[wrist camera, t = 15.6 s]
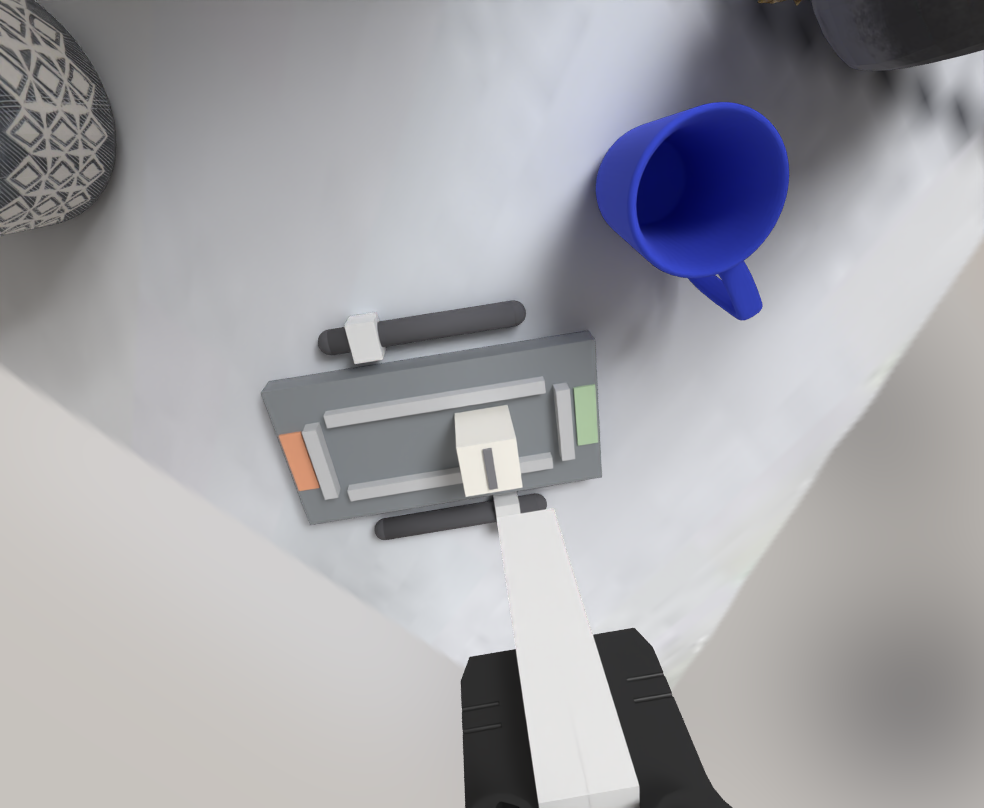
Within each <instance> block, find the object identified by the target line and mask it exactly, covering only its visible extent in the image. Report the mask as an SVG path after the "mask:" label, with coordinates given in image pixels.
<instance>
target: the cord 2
mask: <svg viewBox="0 0 984 808" xmlns="http://www.w3.org/2000/svg"><path fill="white" fill-rule="evenodd" d="M493 496H494V500H493V501H487V502H481V503H475V504H469V505H463V506H457V507H451V508H445V509H439V510H432V511H426V512H420V513H414V514H408V515H402V516H396V517H390V518H384V519H381V520H380V521H378V522H377V524H376V526H375V533H376V535H377V537H378V538H380V539H382V540H389V539H395V538H401V537H407V536H413V535H419V534H425V533H432V532H438V531H444V530H450V529H456V528H462V527H468V526H474V525H480V524H486V523H492V522H497V519H496V518H497V517H503V516H509V515H515V514H521V513H527V512H533V511H539V510H545V509H546V507H547V502H546V499H545V498H544V497H543V496H542V495H540V494H530V495H524V496H517V491H515V492H509V493H503V494H497V495H493Z"/></svg>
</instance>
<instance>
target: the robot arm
mask: <svg viewBox="0 0 984 808" xmlns="http://www.w3.org/2000/svg"><path fill="white" fill-rule="evenodd" d="M496 519H497V525H498V532H499V539H500V546H501V552H502V559H503V566H504V573H505V580H506V586H507V593H508V600H509V607H510V613H511V620H512V627H513V634H514V641H515V647H516V649H514V650H508V651H502V652H496V653H490V654H484V655H479V656H473V657H469V660H468V663H467V666H466V668H465V671H464V674H463V677H462V679H461V701H462V728H463V755H464V782H465V808H732V807H731V806H730V805H729V804H727V803H726V802H725V801H724V800H723V799H722V798H721V796H720V795H719V794H718V793H717V792H716V790H715V789H714V788H713V786H712V784H711V782H710V781H709V779H708V777H707V775H706V773H705V771H704V768H703V766H702V764H701V761H700V759H699V756H698V754H697V751H696V749H695V747H694V745H693V742H692V740H691V737H690V735H689V732H688V730H687V728H686V725H685V723H684V720H683V718H682V716H681V713H680V711H679V709H678V706H677V704H676V701H675V699H674V697H673V696H672V692H671V689H670V687H669V685H668V682H667V680H666V677H664V674H663V670H662V668H661V666H660V663H659V661H658V658H657V656H656V654H655V651H654V649H653V647H652V646H651V645H650V644H649V643H648V642H647V641H646V639H645V638H644V637H643V636H642V635H641V634H640V633H639V632H638V631H637V630H636V629H635V628H630V629H624V630H618V631H612V632H606V633H601V634H595V635H593V634H592V631H591V627H590V624H589V621H588V618H587V614H586V611H585V608H584V605H583V601H582V598H581V595H580V592H579V588H578V585H577V582H576V579H575V575H574V572H573V569H572V566H571V562H570V559H569V556H568V553H567V549H566V546H565V543H564V540H563V536H562V533H561V530H560V527H559V523H558V520H557V517H556V514H555V510H554V508H551V509H545V510H539V511H533V512H527V513H521V514H515V515H509V516H503V517H497V518H496Z"/></svg>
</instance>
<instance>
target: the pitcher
mask: <svg viewBox="0 0 984 808" xmlns="http://www.w3.org/2000/svg"><path fill="white" fill-rule="evenodd" d="M781 1H786V0H758V3H772V4H773V3H777V2H781ZM793 1H794V2H795V4H796V5H797V6H798V4H799V3H800V2H801V1H802V0H793ZM811 2H812V7H813V11H814V13H815V16H816V18H817V20H818V23H819V25H820V28H821V30H822V32H823V35H824V37H825V38H826V39H827V41H828V42H829V44H830V45H831V47H832V48H833V49H834V51H835V52H836V54H837V55H838V56H839V57H840V58H841V59H842V60H843V61H844V62H845V63H846V64H847V65H848V66H849V67H851V68H854V69H857V70H869V71H882V70H893V69H902V68H908V67H913V66H919V65H924V64H929V63H933V62H938V61H942V60H946V59H950V58H955V57H959V56H963V55H966V54H970V53H974V52H977V51H981V50H984V0H811Z"/></svg>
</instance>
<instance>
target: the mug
mask: <svg viewBox="0 0 984 808" xmlns="http://www.w3.org/2000/svg"><path fill="white" fill-rule="evenodd" d="M788 184H789V163H788V157H787V152H786V149H785V146H784V143H783V141H782V138H781V137H780V135H779V133H778V131H777V130H776V128H775V127H774V126H773V125H772V124H771V122H770V121H769V120H768V119H767V118H765V117H764V116H763V115H762V114H760V113H759V112H757V111H756V110H754V109H752V108H750V107H747V106H744V105H741V104H737V103H730V102H716V103H709V104H704V105H701V106H697V107H694V108H691V109H688V110H685V111H682V112H679V113H676V114H673V115H670V116H667V117H664V118H661V119H658V120H655V121H652V122H649V123H646V124H643V125H641V126H638V127H636V128H634V129H632V130H630V131H628V132H627V133H625V134H624V135H623V136H621V137H620V138H619V139H618V140H617V141H616V142H615V143H614V144H613V145H612V146H611V148H610V149H609V150H608V152H607V153H606V155H605V157H604V159H603V160H602V163H601V165H600V168H599V171H598V175H597V180H596V198H597V203H598V207H599V210H600V212H601V214H602V216H603V218H604V220H605V221H606V222H607V224H608V225H609V226H610V227H611V228H612V229H613V230H614V231H615V232H616V233H617V234H618V235H620V236H621V237H622V238H623V239H624V240H625V241H626V242H627V243H629V244H630V245H631V246H632V247H633V248H634V249H635V250H636V251H638V252H639V253H640V254H641V255H642V256H643V257H644V258H645V259H647V260H648V261H649V262H650V263H651V264H652V265H654V266H655V267H656V268H658V269H660V270H661V271H663V272H665V273H668V274H670V275H674V276H678V277H683V278H688V279H689V280H690V281H691V282H692V283H693V284H694V285H695V287H697V288H698V289H699V290H700V291H701V292H702V293H703V294H704V295H706V296H707V297H708V298H709V299H711V300H712V301H713V302H714V303H716V304H717V305H718V306H720V307H721V308H723V309H724V310H725V311H727V312H728V313H730V314H731V315H732V316H734V317H735V318H737V319H738V320H747V319H749V318H751V317H753V316H754V315H756V314H757V313H759V312H760V310H761V309H762V301H761V298H760V295H759V292H758V290H757V287H756V285H755V282H754V280H753V278H752V275H751V273H750V271H749V269H748V267H747V265H746V264H745V262H744V260H745V259H746V258H748V257H749V256H750V255H751V254H752V253H753V252H755V251H756V250H757V249H758V247H759V246H760V245H761V244H762V243H763V242H764V241H765V239H766V238H767V237H768V235H769V234H770V232H771V231H772V229H773V228H774V226H775V224H776V222H777V221H778V218H779V216H780V214H781V212H782V209H783V206H784V203H785V200H786V196H787V191H788ZM716 274H719V276H720V278H721V279H722V280H721V279H719V278H718V277H717V276H715V275H716Z"/></svg>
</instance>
